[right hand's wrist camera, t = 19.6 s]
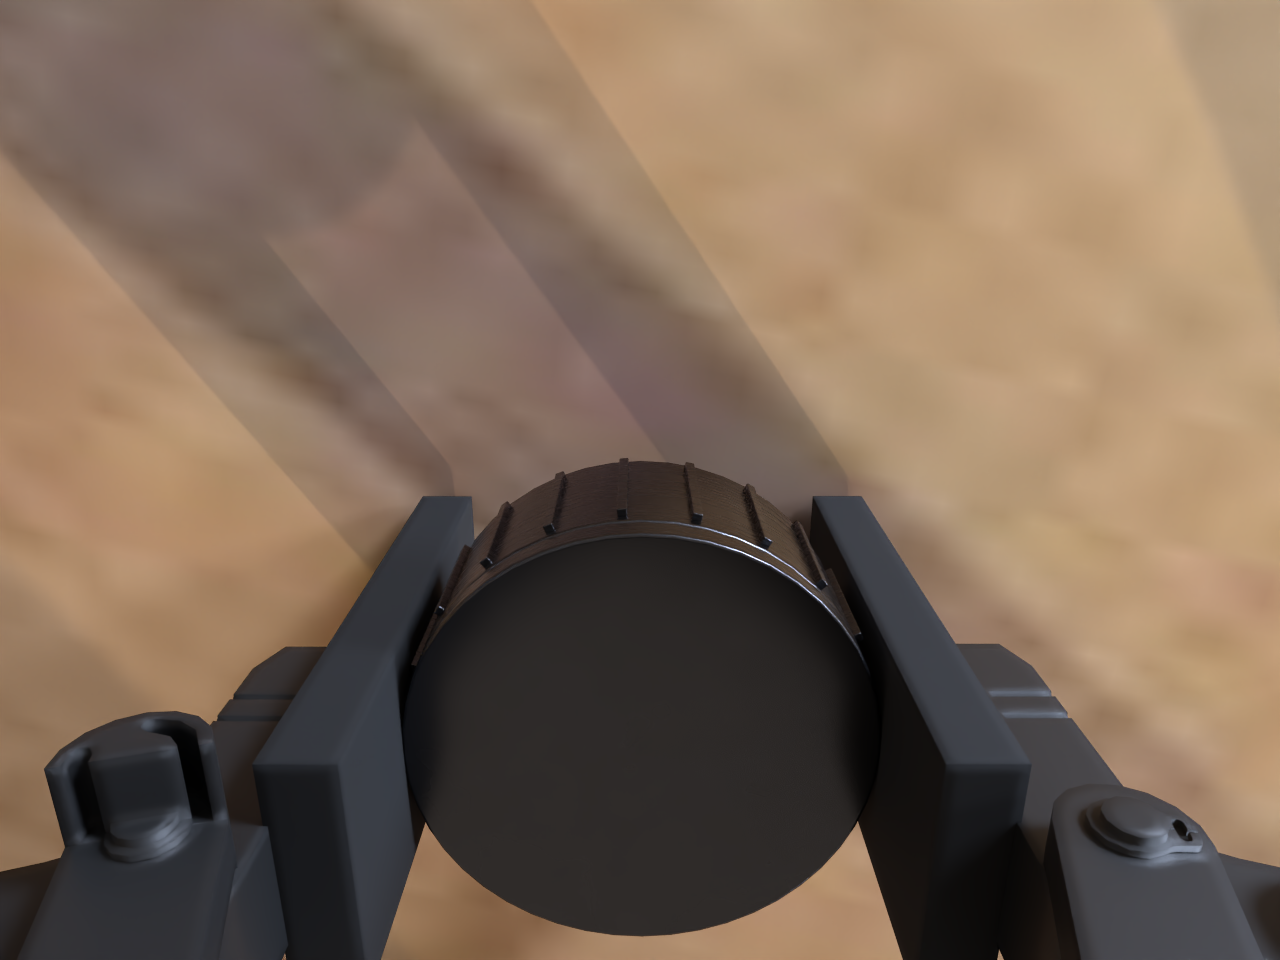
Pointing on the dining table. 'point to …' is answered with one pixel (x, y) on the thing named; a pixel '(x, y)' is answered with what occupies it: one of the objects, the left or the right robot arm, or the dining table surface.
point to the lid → (641, 704)
